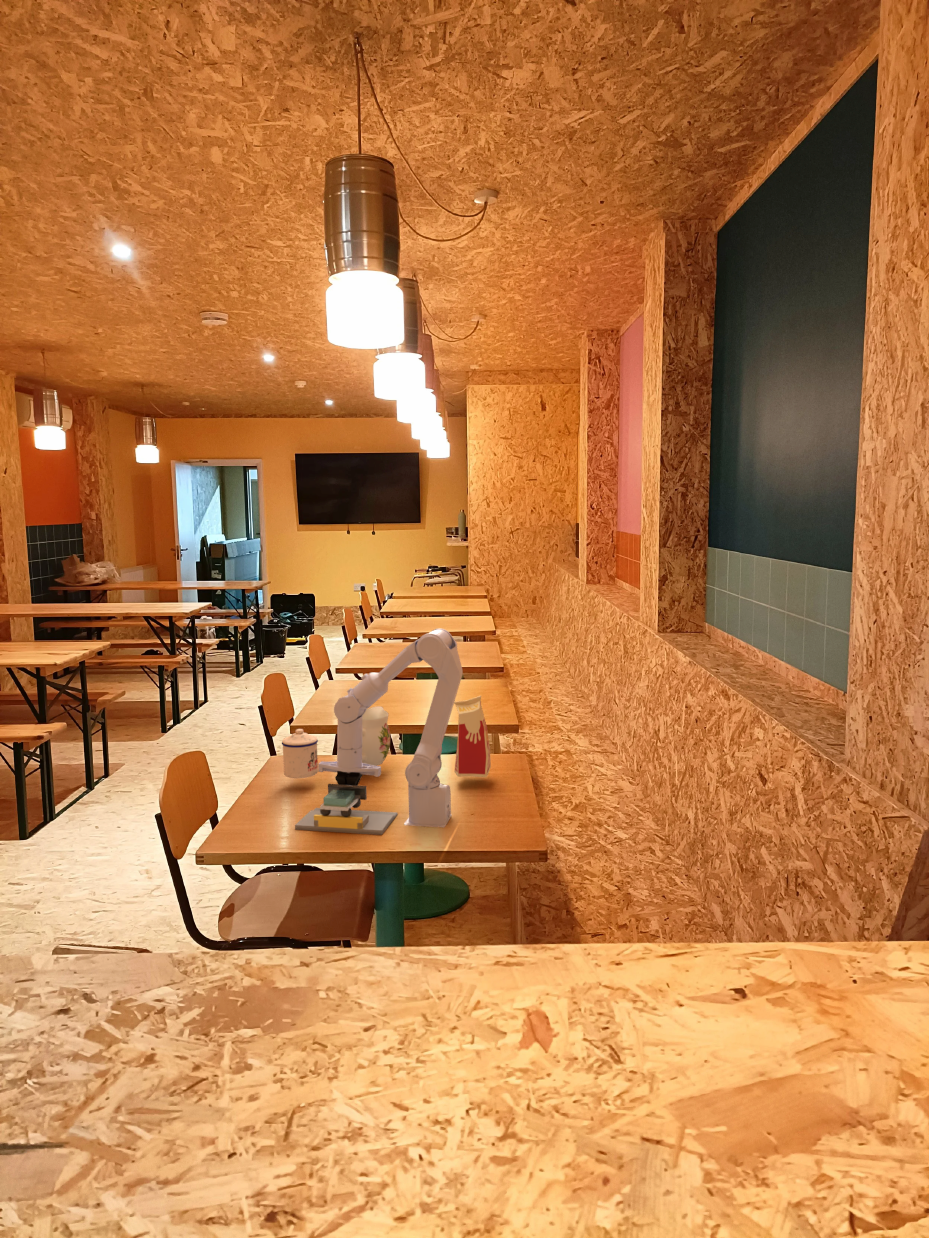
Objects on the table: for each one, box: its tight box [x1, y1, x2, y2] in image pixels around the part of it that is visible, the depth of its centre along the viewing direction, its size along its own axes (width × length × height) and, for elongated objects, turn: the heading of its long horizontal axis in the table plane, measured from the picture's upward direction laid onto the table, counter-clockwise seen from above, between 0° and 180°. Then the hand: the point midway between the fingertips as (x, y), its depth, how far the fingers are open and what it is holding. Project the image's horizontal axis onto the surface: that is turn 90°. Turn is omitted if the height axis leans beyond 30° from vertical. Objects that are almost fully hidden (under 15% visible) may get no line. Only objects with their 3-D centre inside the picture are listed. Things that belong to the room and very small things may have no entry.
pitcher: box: [362, 705, 391, 766], centre depth 213 cm, size 11×18×14 cm, turn 166°
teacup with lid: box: [281, 728, 319, 779], centre depth 207 cm, size 12×9×12 cm
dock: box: [294, 807, 398, 836], centre depth 181 cm, size 20×12×3 cm, turn 79°
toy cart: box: [319, 783, 368, 817], centre depth 178 cm, size 9×9×5 cm
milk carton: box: [454, 695, 492, 778], centre depth 205 cm, size 9×9×20 cm
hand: (349, 803), depth 185 cm, fingers closed
